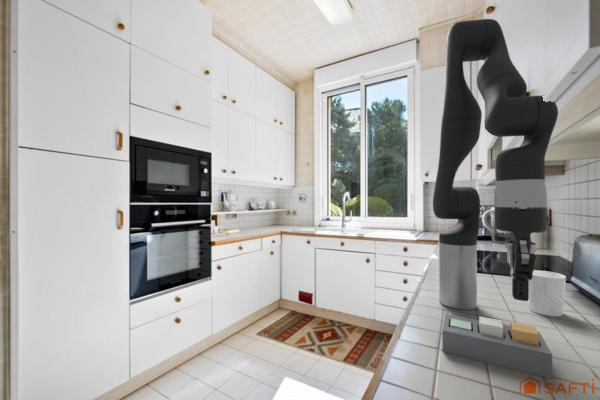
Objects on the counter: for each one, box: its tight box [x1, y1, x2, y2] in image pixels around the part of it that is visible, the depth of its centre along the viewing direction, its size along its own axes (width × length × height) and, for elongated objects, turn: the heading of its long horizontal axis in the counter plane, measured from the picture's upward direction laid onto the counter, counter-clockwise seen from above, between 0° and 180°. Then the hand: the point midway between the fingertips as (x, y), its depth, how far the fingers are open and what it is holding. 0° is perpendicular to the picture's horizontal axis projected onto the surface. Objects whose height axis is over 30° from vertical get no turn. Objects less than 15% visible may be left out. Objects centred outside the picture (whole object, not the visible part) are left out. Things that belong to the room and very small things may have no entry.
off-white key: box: [478, 316, 504, 338], centre depth 53 cm, size 4×4×2 cm
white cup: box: [527, 269, 567, 317], centre depth 72 cm, size 8×8×10 cm
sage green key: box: [450, 319, 471, 331], centre depth 55 cm, size 4×4×2 cm
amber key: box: [509, 321, 539, 345], centre depth 50 cm, size 4×4×2 cm
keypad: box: [442, 313, 553, 379], centre depth 53 cm, size 9×16×4 cm, turn 59°
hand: (520, 299), depth 50 cm, fingers closed
